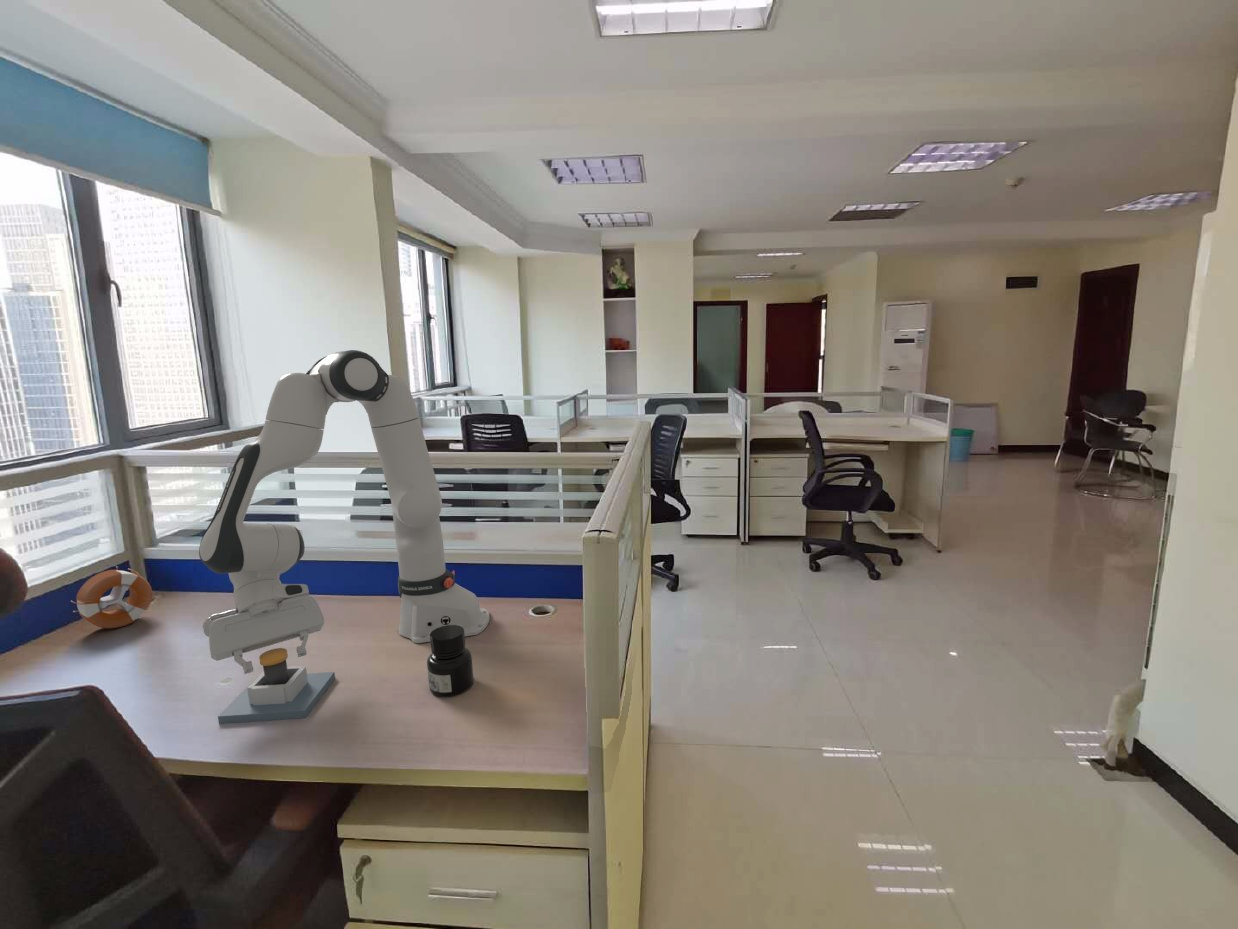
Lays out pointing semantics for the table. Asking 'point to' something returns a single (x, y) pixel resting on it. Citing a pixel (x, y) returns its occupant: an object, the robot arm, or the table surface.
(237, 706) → the mount
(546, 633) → the table surface
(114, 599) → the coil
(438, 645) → the ink bottle
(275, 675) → the knob
